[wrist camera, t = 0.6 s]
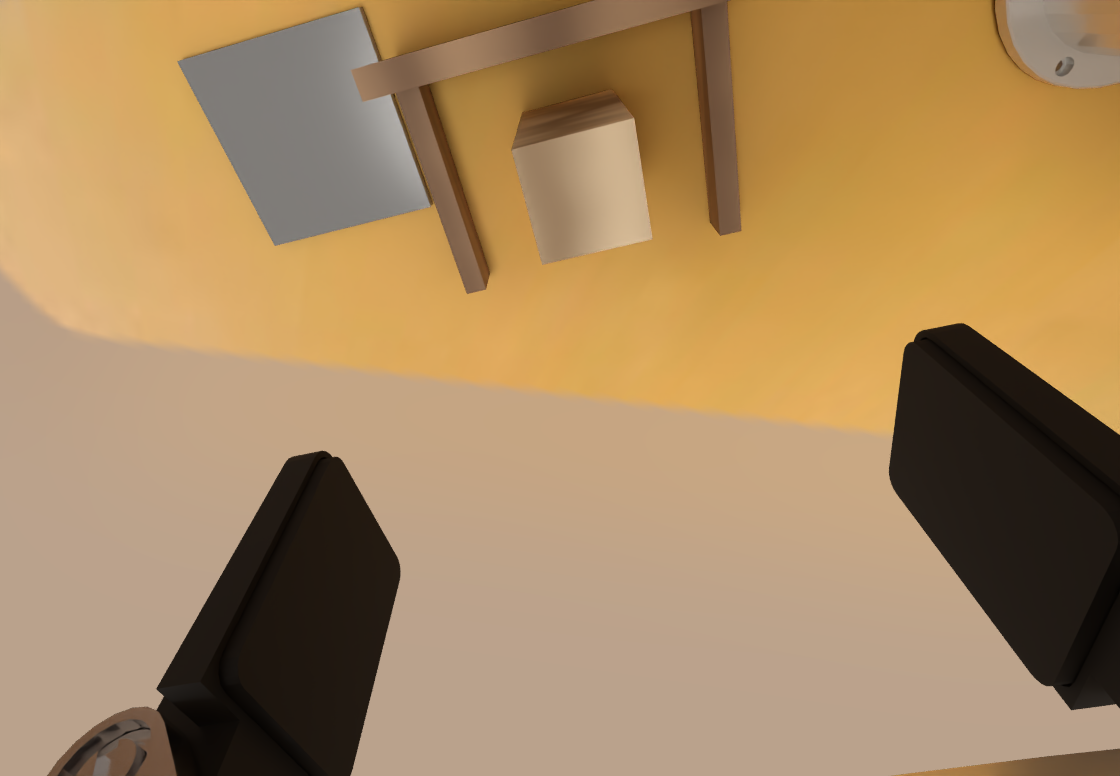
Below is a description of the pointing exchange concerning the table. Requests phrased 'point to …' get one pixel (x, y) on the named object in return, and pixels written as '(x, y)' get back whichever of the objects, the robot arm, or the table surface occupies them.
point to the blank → (582, 176)
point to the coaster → (309, 128)
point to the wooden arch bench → (612, 9)
